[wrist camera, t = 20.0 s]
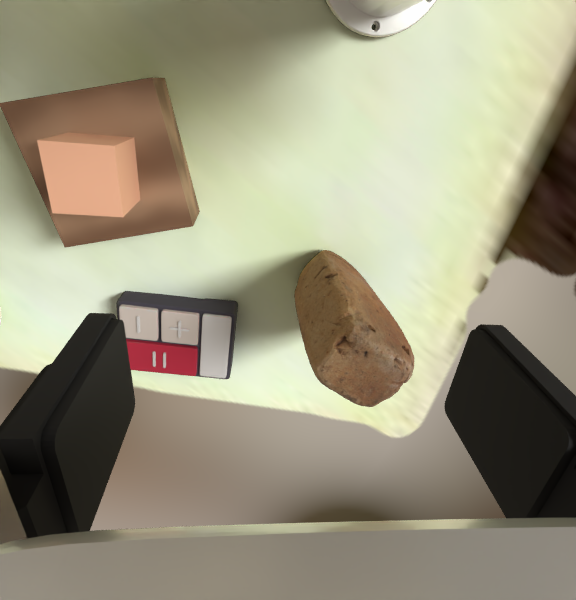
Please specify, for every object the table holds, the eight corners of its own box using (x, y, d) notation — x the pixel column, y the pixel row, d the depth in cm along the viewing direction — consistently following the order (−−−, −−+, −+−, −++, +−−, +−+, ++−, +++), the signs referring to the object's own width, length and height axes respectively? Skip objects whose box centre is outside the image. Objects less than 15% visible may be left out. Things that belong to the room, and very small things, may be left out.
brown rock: (285, 280, 52) (300, 379, 35) (322, 238, 50) (359, 321, 32) (343, 321, 56) (384, 429, 38) (381, 284, 53) (442, 381, 36)
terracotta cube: (68, 132, 37) (36, 140, 31) (134, 137, 37) (114, 146, 32) (79, 196, 40) (52, 213, 34) (140, 199, 40) (123, 217, 35)
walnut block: (32, 100, 40) (-1, 103, 35) (165, 78, 40) (152, 77, 35) (86, 229, 47) (64, 247, 42) (200, 210, 47) (193, 226, 42)
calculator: (113, 302, 48) (235, 316, 49) (125, 287, 52) (238, 300, 53) (118, 372, 53) (228, 383, 55) (129, 353, 57) (232, 364, 58)
